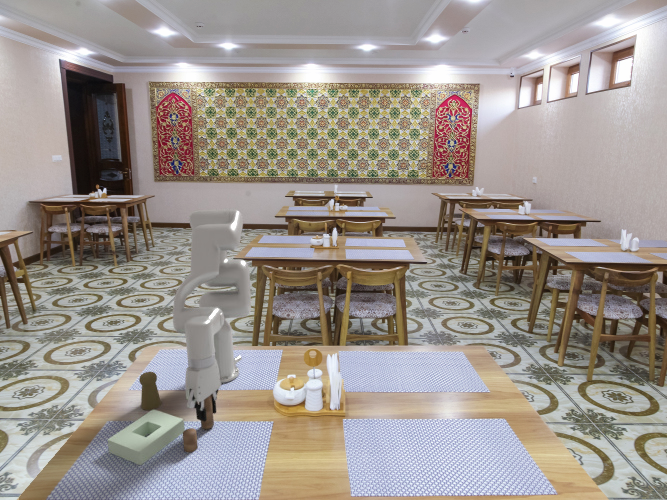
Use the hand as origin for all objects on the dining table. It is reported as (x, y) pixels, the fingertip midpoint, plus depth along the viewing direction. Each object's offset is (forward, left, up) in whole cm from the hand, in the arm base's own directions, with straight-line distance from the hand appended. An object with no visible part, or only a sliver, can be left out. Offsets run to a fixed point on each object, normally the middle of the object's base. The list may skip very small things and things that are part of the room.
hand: (206, 415), depth 136 cm
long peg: (0, 0, -3) cm, 3 cm away
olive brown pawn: (-2, -25, -4) cm, 25 cm away
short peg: (+9, +2, -4) cm, 10 cm away
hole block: (+12, -11, -4) cm, 17 cm away
